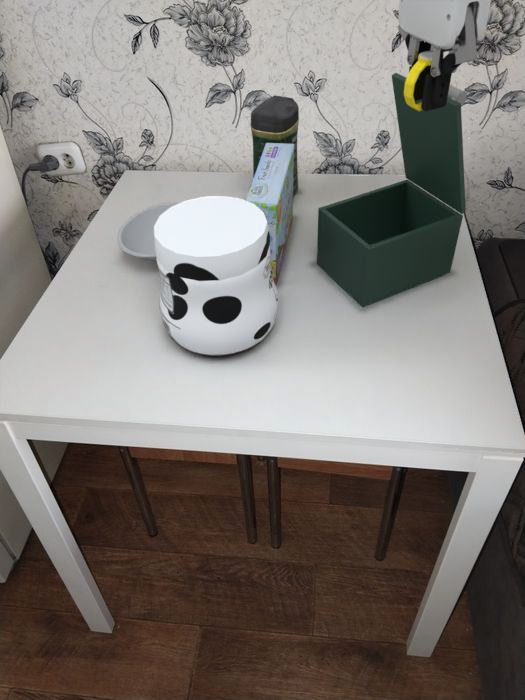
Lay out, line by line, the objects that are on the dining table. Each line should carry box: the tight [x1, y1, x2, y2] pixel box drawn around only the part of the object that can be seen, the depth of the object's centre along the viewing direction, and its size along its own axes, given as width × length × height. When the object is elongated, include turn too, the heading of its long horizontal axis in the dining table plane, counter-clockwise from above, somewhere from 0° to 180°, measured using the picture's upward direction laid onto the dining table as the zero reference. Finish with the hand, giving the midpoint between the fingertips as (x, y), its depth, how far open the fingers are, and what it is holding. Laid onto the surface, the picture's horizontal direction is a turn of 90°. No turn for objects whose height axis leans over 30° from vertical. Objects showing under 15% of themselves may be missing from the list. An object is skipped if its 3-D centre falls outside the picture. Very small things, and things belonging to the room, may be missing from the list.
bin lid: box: [391, 72, 468, 215], centre depth 88 cm, size 18×14×5 cm
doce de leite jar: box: [154, 195, 279, 357], centre depth 84 cm, size 17×17×18 cm
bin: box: [316, 179, 464, 308], centre depth 96 cm, size 18×14×11 cm
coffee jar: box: [250, 95, 300, 197], centre depth 112 cm, size 10×8×19 cm
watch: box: [404, 51, 445, 111], centre depth 69 cm, size 6×3×6 cm, turn 120°
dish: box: [116, 201, 182, 261], centre depth 104 cm, size 18×14×5 cm
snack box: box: [245, 143, 295, 286], centre depth 100 cm, size 21×6×15 cm, turn 171°
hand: (425, 102), depth 70 cm, fingers closed on watch, 2 cm apart
